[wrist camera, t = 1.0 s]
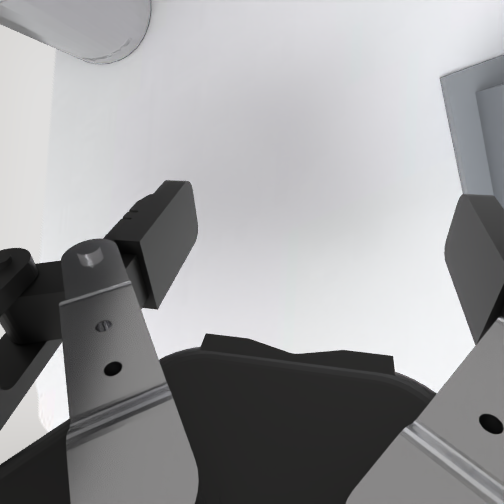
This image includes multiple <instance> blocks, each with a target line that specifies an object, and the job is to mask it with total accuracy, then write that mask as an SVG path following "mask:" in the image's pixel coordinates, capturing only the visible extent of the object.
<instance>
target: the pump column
mask: <svg viewBox="0 0 504 504" xmlns="http://www.w3.org/2000/svg"><path fill="white" fill-rule="evenodd" d="M440 81H441V86H442V91H443V96H444V101H445V106H446V111H447V115H448V120H449V125H450V130H451V135H452V140H453V145H454V150H455V155H456V160H457V165H458V170H459V175H460V180H461V185H462V190H463V194H478V195H493V196H495V197H496V199H497V200H498V202H499V203H500V205H501V206H502V208H503V209H504V55H502V56H499V57H496V58H494V59H491V60H488V61H485V62H483V63H480V64H477V65H474V66H472V67H469V68H466V69H463V70H461V71H458V72H455V73H452V74H450V75H447V76H444V77H442V78H440Z"/></svg>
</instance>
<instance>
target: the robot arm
mask: <svg viewBox="0 0 504 504" xmlns="http://www.w3.org/2000/svg"><path fill="white" fill-rule="evenodd" d="M150 14H151V0H0V24H1V25H3V26H6V27H8V28H10V29H13V30H15V31H17V32H20V33H22V34H24V35H26V36H29V37H31V38H33V39H36V40H38V41H40V42H43V43H45V44H47V45H50V46H51V47H54V48H56V49H58V50H61V51H63V52H65V53H68V54H70V55H73V56H75V57H77V58H79V59H82V60H84V61H86V62H91V63H96V64H106V63H112V62H115V61H119V60H121V59H122V58H124V57H126V56H128V55H129V54H130V53H131V52H132V51H133V50H134V49H136V48H137V46H138V45H139V43H140V42H141V40H142V39H143V37H144V35H145V33H146V30H147V28H148V25H149V19H150ZM197 234H198V222H197V216H196V209H195V203H194V196H193V190H192V186H191V183H190V182H189V181H171V180H166V181H164V182H163V184H162V185H161V186H160V187H159V188H158V189H157V190H156V192H155V193H154V194H150V195H148V196H146V197H145V198H143V199H141V200H139V201H137V202H136V203H135V205H134V206H133V207H132V208H131V209H130V210H129V212H127V213H126V214H125V215H124V216H123V219H121V220H120V221H119V222H118V223H117V224H116V225H115V226H114V227H113V228H112V230H111V231H110V232H109V233H108V234H107V235H106V236H105V237H104V238H103V239H92V240H87V241H84V242H81V243H79V244H76V245H74V246H73V247H71V248H70V249H68V250H67V251H66V252H65V253H64V254H63V256H62V258H61V261H55V262H47V263H39V264H35V263H34V261H33V259H32V257H31V254H30V252H29V251H27V250H25V249H21V248H11V249H4V250H1V251H0V324H1V325H2V327H3V328H4V330H5V332H6V333H5V334H4V335H3V337H2V338H1V339H0V430H1V429H2V427H3V426H4V425H5V423H6V422H7V420H8V419H9V417H10V416H11V414H12V413H13V412H14V410H15V409H16V407H17V406H18V404H19V403H20V402H21V400H22V399H23V397H24V396H25V394H26V393H27V391H28V390H29V389H30V387H31V386H32V384H33V383H34V382H35V380H36V379H37V377H38V376H39V374H40V373H41V371H42V370H43V369H44V367H45V366H46V364H47V363H48V361H49V360H50V359H51V357H52V356H53V354H54V353H55V351H56V350H57V348H58V347H59V346H60V344H61V343H63V353H64V364H65V374H66V385H67V395H68V405H69V416H70V419H68V420H67V421H65V422H64V423H62V424H61V425H59V426H58V427H56V428H55V429H53V430H52V431H50V432H49V433H47V434H46V435H44V436H43V437H41V438H40V439H39V440H37V441H35V442H34V443H32V444H31V445H29V446H28V447H26V448H25V449H23V450H22V451H20V452H19V453H17V454H16V455H14V456H13V457H11V458H10V459H8V460H7V461H5V462H4V463H2V464H1V465H0V504H504V209H503V208H502V206H501V205H500V203H499V202H498V200H497V199H496V197H495V196H493V195H478V194H463V195H461V197H460V198H459V200H458V203H457V206H456V210H455V213H454V216H453V219H452V223H451V226H450V229H449V233H448V236H447V239H446V243H445V261H446V264H447V267H448V270H449V273H450V275H451V278H452V281H453V284H454V287H455V289H456V292H457V295H458V298H459V301H460V303H461V306H462V309H463V312H464V314H465V317H466V320H467V323H468V326H469V328H470V331H471V334H472V337H473V340H474V342H475V345H476V346H475V347H474V348H473V350H472V351H471V352H470V353H469V355H468V356H467V357H466V358H465V360H464V361H463V362H462V363H461V365H460V366H459V367H458V368H457V370H456V371H455V372H454V373H453V375H452V376H451V377H450V378H449V380H448V381H447V382H446V383H445V384H444V386H443V387H442V388H441V389H440V391H439V392H438V393H435V392H434V391H432V390H431V389H429V388H428V387H426V386H425V385H423V384H421V383H419V382H417V381H416V380H414V379H412V378H409V377H407V376H405V375H403V374H400V373H397V372H395V369H394V362H393V356H388V355H380V354H372V353H363V352H355V351H347V350H339V351H327V352H316V353H304V354H292V353H288V352H286V351H283V350H280V349H277V348H274V347H271V346H268V345H266V344H263V343H260V342H257V341H254V340H251V339H247V338H239V337H231V336H223V335H214V334H206V335H205V337H204V340H203V342H202V345H201V347H196V348H191V349H186V350H182V351H179V352H175V353H173V354H170V355H168V356H165V357H163V358H162V359H160V360H159V359H158V357H157V354H156V351H155V348H154V345H153V342H152V340H151V337H150V334H149V331H148V328H147V326H146V323H145V320H144V317H143V314H142V311H141V309H142V308H150V309H158V308H159V306H160V304H161V302H162V301H163V299H164V297H165V295H166V293H167V292H168V290H169V288H170V286H171V285H172V283H173V281H174V279H175V277H176V276H177V274H178V272H179V270H180V269H181V267H182V265H183V263H184V261H185V260H186V258H187V256H188V254H189V252H190V251H191V249H192V247H193V245H194V244H195V242H196V239H197Z"/></svg>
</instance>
